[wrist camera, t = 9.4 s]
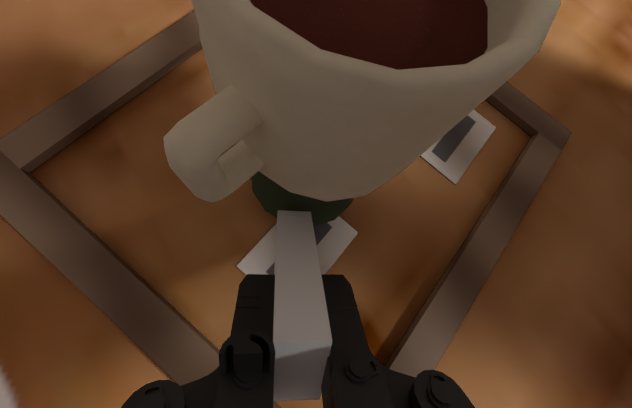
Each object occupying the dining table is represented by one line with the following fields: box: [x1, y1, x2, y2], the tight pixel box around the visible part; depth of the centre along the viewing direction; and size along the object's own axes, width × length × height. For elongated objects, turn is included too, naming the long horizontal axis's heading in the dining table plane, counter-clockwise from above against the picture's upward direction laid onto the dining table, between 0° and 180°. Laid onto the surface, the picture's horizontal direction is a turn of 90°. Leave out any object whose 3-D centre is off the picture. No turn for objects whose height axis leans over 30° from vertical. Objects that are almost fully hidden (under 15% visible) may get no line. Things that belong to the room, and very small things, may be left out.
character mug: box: [163, 0, 561, 227], centre depth 11 cm, size 11×7×13 cm, turn 136°
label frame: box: [0, 10, 572, 408], centre depth 18 cm, size 28×25×1 cm
